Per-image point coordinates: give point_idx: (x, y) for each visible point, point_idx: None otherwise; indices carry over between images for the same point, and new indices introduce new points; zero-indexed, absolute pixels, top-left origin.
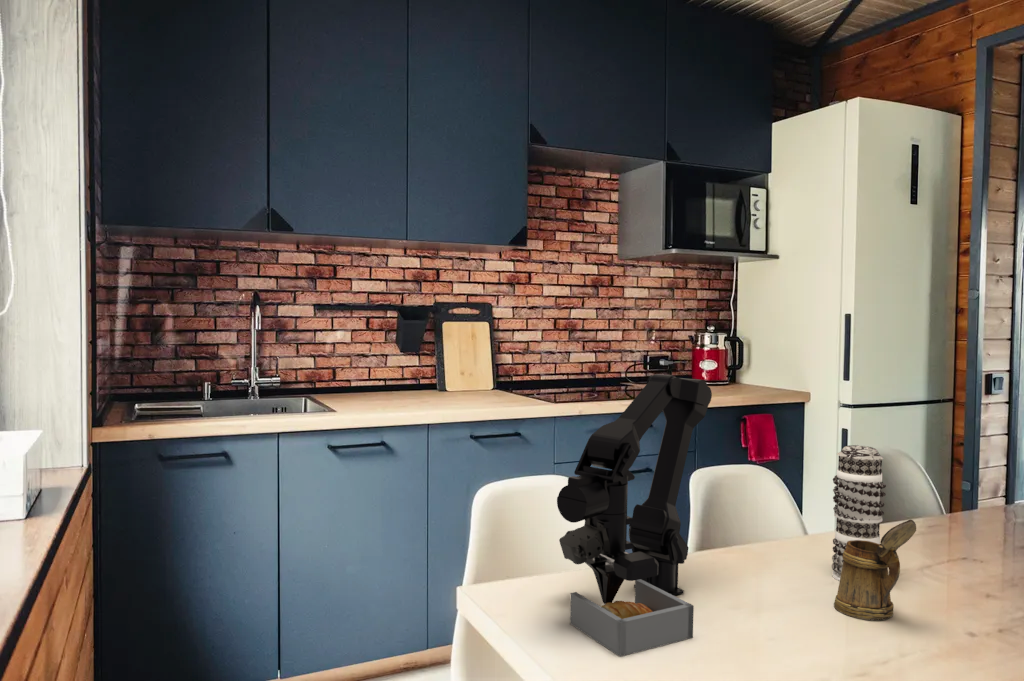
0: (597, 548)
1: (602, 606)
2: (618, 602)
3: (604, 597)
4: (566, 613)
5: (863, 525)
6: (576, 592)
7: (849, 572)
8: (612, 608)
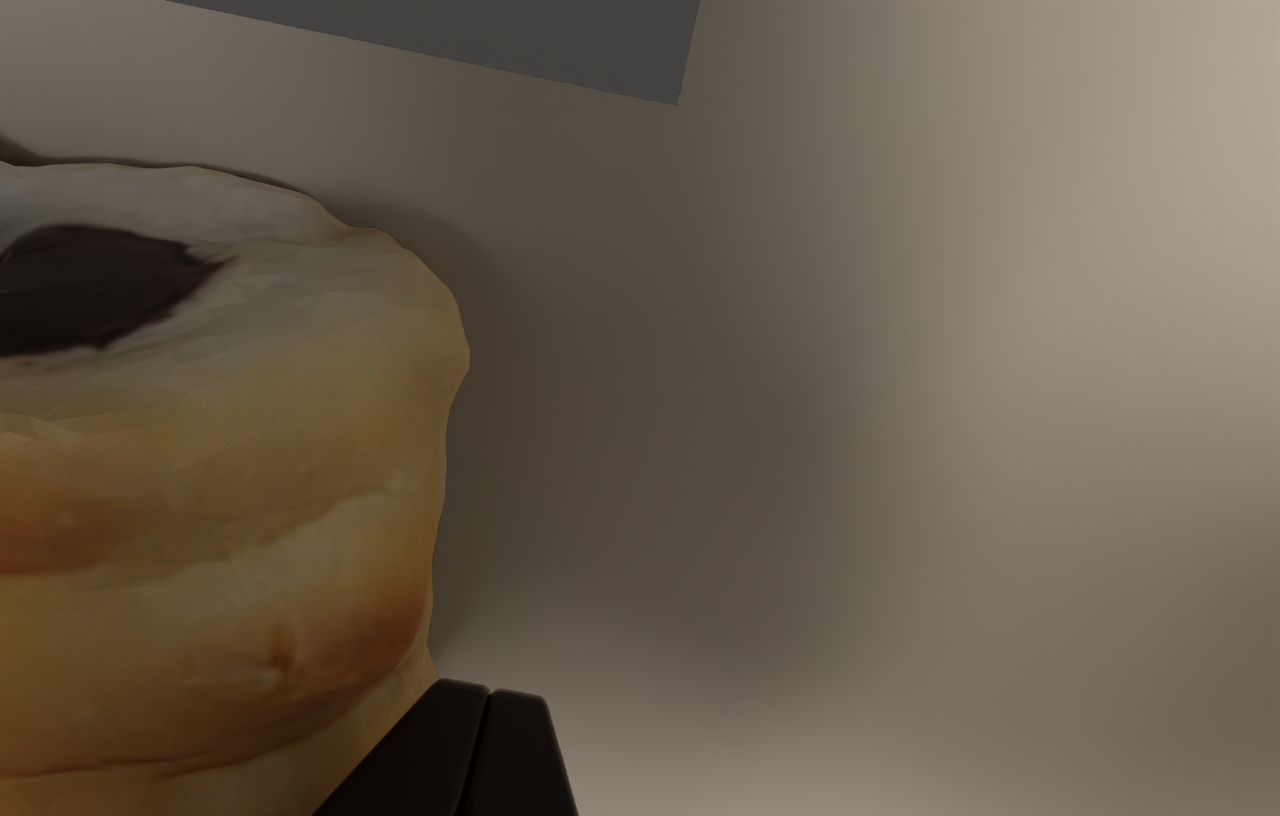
0: None
1: (37, 417)
2: (74, 808)
3: (417, 788)
4: (1211, 99)
5: None
6: (588, 56)
7: None
8: None
